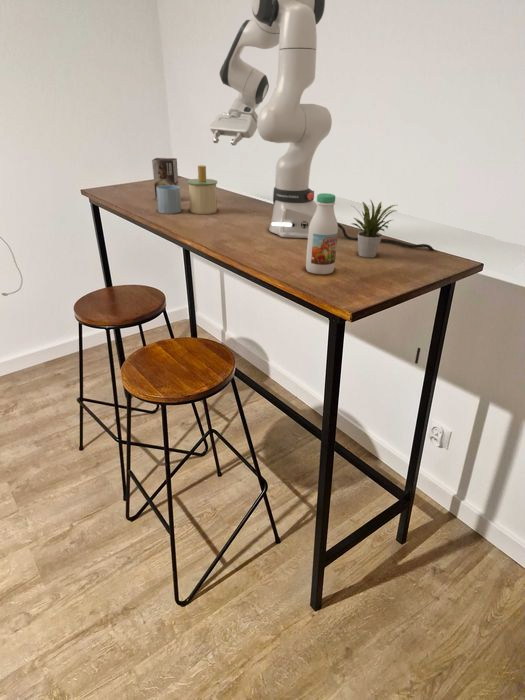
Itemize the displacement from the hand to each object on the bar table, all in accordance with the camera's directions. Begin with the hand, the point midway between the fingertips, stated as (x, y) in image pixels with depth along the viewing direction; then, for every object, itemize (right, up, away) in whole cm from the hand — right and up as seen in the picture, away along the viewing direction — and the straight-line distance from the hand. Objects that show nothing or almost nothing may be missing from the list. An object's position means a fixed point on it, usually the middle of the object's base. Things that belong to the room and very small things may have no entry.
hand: (223, 143), depth 183 cm
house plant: (+48, -52, -41) cm, 82 cm away
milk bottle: (+31, -58, -54) cm, 85 cm away
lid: (-8, -16, -2) cm, 18 cm away
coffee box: (-26, -15, +21) cm, 36 cm away
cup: (-21, -26, +1) cm, 33 cm away
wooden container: (-8, -25, +3) cm, 27 cm away
